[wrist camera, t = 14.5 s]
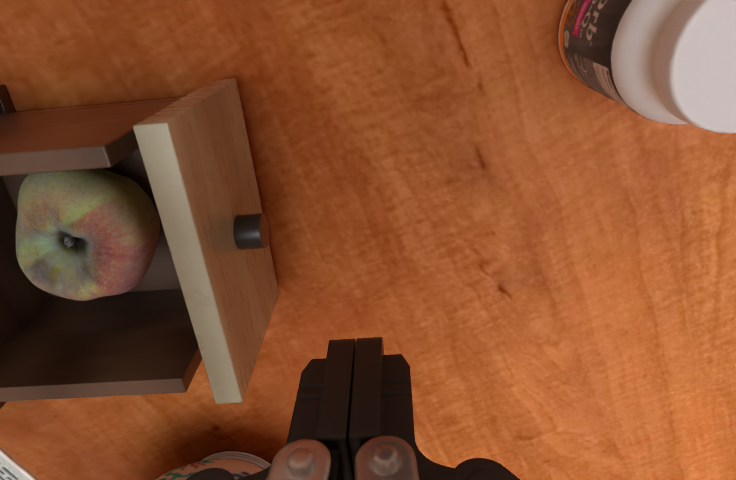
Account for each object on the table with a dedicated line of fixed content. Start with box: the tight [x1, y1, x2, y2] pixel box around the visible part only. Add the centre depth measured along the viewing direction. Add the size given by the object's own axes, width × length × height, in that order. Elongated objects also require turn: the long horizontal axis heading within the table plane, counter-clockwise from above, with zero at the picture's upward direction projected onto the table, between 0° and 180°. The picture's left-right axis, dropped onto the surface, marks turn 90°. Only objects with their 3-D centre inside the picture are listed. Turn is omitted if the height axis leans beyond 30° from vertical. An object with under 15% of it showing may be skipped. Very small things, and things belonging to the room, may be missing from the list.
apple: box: [16, 168, 160, 301], centre depth 24 cm, size 6×8×6 cm
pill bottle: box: [558, 0, 736, 133], centre depth 19 cm, size 6×6×10 cm
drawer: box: [0, 78, 279, 404], centre depth 24 cm, size 15×12×9 cm
